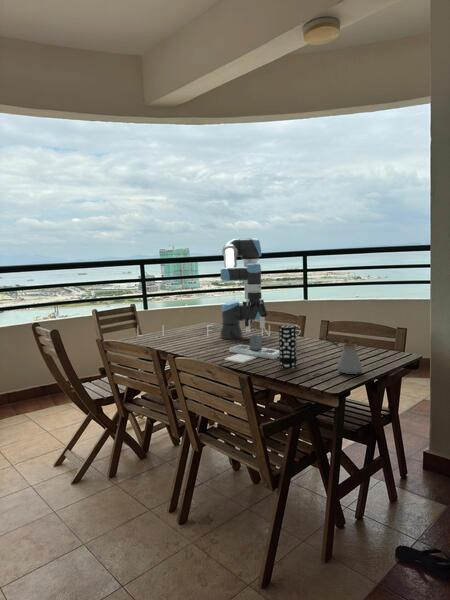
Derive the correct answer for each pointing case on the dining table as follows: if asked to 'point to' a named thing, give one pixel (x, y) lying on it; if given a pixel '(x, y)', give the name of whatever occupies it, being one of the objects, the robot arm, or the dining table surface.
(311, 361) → the dining table surface
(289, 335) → the spotted tube
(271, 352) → the white socket board
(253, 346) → the steel plug
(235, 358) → the pad
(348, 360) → the coffee pot
